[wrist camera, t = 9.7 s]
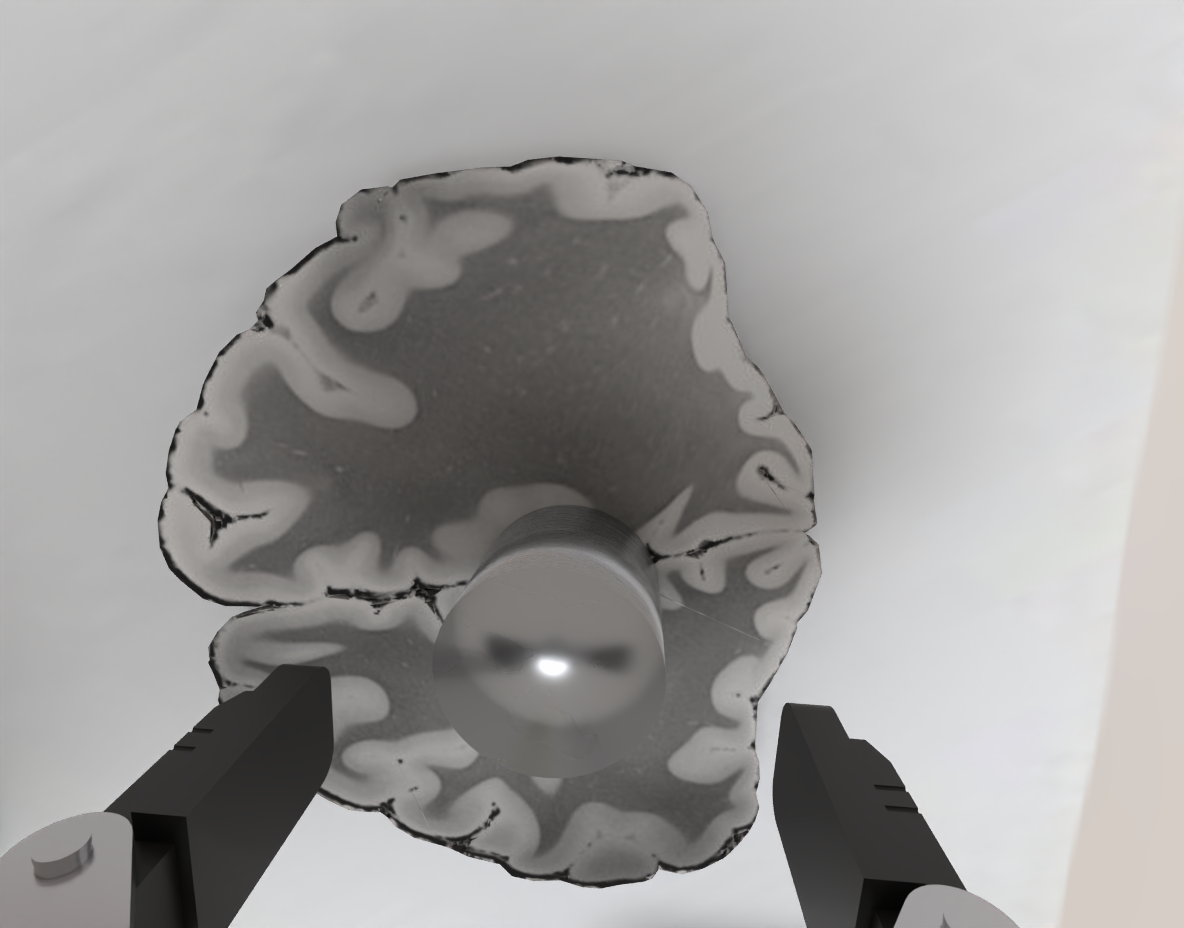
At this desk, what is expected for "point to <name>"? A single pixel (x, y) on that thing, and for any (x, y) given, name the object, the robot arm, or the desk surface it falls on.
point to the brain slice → (502, 495)
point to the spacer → (555, 646)
